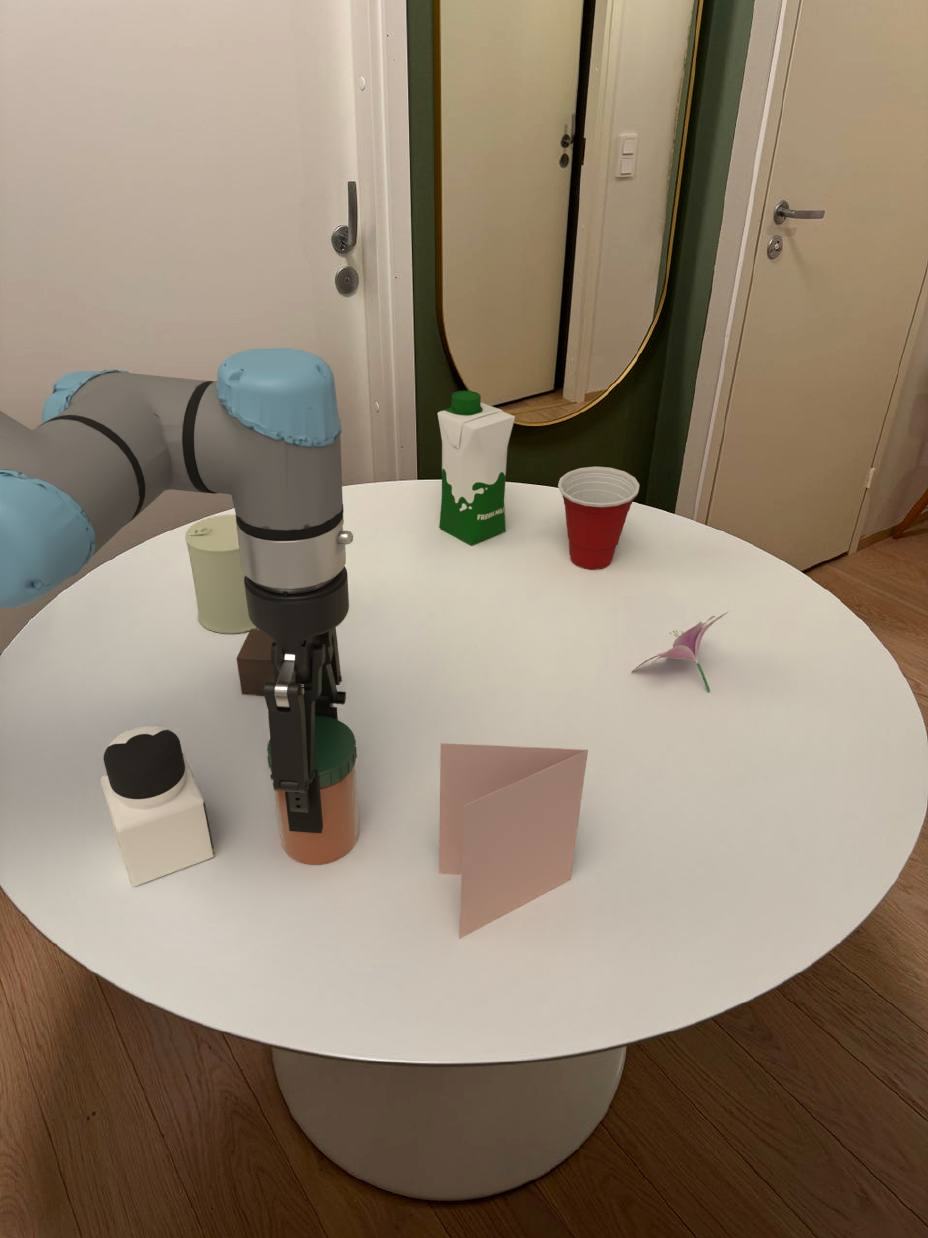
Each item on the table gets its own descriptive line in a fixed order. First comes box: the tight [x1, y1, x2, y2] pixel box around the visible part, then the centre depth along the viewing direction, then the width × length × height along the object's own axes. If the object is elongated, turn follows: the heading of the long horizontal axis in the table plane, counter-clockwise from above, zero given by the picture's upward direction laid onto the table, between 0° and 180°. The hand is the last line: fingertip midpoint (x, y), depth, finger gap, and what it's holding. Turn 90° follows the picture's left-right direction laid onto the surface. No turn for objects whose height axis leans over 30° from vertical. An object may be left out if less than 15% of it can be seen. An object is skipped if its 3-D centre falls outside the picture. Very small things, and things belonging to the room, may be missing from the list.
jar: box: [274, 765, 360, 866], centre depth 76 cm, size 7×7×10 cm
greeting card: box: [438, 742, 589, 940], centre depth 69 cm, size 11×7×15 cm, turn 88°
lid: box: [266, 716, 358, 788], centre depth 74 cm, size 7×7×2 cm
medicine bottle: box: [100, 725, 215, 887], centre depth 74 cm, size 7×7×12 cm
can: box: [184, 514, 258, 635], centre depth 106 cm, size 9×9×12 cm
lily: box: [632, 610, 731, 693], centre depth 99 cm, size 12×12×10 cm
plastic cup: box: [557, 466, 640, 571], centre depth 120 cm, size 11×11×12 cm
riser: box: [236, 628, 275, 697], centre depth 97 cm, size 6×6×5 cm
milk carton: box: [437, 390, 516, 546], centre depth 124 cm, size 9×9×20 cm
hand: (316, 794), depth 77 cm, fingers closed on lid, 7 cm apart
